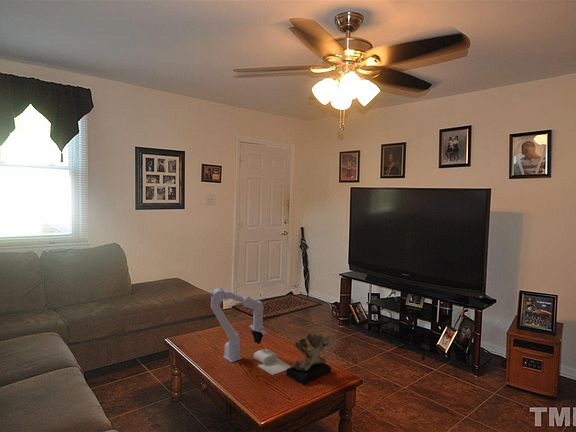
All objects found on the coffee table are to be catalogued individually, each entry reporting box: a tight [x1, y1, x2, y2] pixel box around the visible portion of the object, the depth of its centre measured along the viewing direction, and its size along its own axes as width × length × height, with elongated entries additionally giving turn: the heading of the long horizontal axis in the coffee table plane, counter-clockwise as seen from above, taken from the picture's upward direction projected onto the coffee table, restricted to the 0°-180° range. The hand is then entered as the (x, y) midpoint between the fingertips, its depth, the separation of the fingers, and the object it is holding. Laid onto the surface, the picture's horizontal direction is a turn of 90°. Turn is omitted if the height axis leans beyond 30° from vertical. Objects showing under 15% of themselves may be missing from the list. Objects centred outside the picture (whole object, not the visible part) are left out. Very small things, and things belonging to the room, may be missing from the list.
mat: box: [257, 358, 293, 376], centre depth 216 cm, size 14×15×1 cm
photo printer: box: [253, 348, 279, 364], centre depth 225 cm, size 10×4×12 cm
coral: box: [285, 333, 335, 386], centre depth 207 cm, size 25×20×21 cm
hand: (257, 342), depth 229 cm, fingers closed
